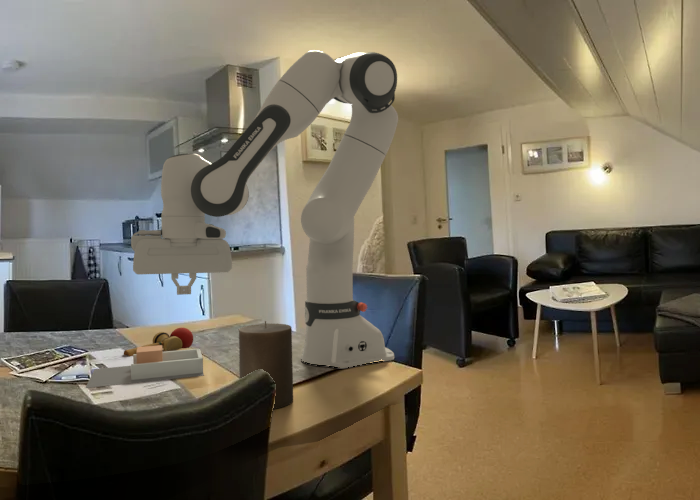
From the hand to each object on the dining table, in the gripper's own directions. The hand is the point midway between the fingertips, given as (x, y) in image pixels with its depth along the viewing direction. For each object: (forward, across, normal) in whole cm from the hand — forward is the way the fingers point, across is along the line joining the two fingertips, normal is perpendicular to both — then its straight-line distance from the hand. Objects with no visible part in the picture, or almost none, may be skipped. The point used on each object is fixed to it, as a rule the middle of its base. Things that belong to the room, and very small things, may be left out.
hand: (184, 294), depth 112 cm
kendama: (+18, -5, +22) cm, 29 cm away
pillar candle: (+18, +14, -23) cm, 32 cm away
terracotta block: (+16, -7, 0) cm, 18 cm away
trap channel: (+18, -7, 0) cm, 19 cm away
